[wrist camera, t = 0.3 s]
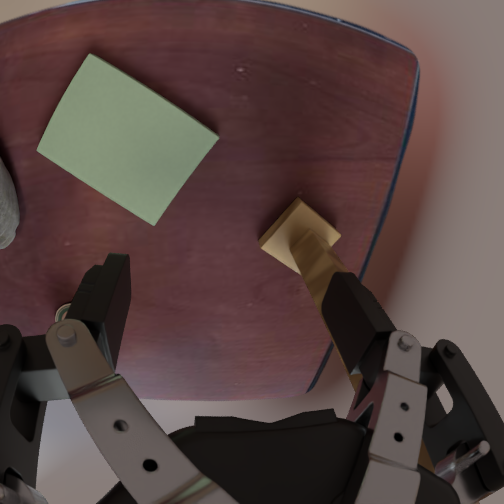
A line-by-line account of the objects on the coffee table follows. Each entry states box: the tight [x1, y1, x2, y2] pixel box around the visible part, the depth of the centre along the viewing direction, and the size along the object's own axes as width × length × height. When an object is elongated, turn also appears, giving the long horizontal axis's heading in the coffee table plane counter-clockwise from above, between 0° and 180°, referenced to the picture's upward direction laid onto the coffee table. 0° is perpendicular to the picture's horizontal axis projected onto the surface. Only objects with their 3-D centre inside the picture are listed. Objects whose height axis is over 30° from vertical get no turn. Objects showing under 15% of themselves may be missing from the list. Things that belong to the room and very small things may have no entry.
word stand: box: [258, 197, 480, 504], centre depth 17 cm, size 6×6×32 cm
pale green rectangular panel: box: [37, 53, 219, 226], centre depth 22 cm, size 10×14×1 cm
